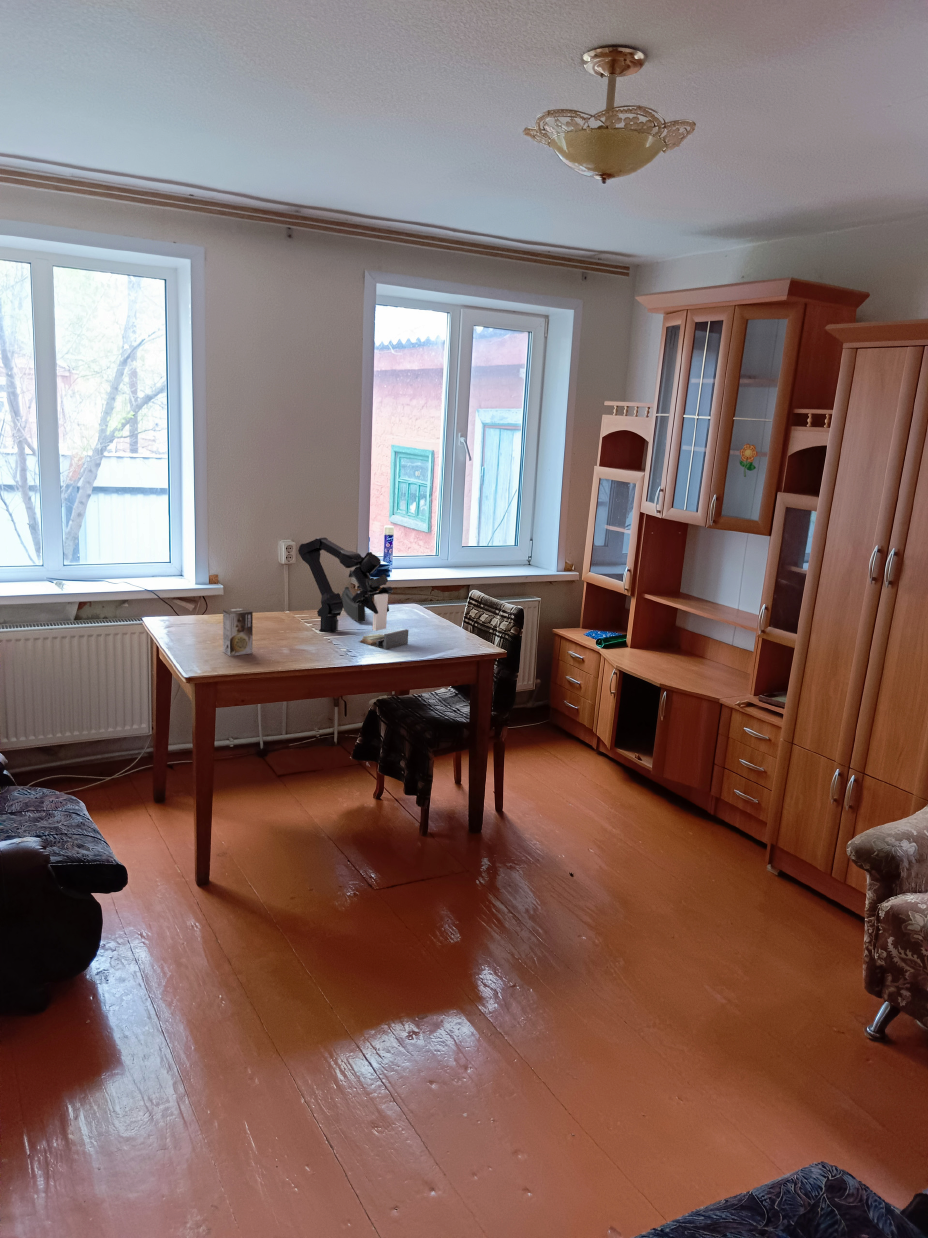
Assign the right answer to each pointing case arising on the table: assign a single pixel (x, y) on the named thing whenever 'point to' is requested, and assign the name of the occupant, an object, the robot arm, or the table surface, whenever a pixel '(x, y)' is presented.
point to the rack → (392, 640)
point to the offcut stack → (372, 638)
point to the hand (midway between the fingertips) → (382, 612)
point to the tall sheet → (380, 611)
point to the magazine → (352, 606)
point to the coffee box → (237, 631)
